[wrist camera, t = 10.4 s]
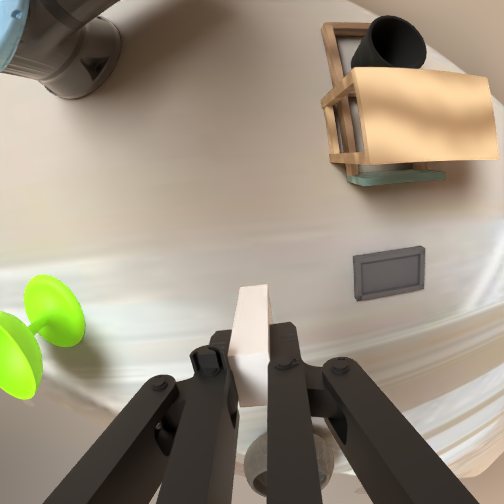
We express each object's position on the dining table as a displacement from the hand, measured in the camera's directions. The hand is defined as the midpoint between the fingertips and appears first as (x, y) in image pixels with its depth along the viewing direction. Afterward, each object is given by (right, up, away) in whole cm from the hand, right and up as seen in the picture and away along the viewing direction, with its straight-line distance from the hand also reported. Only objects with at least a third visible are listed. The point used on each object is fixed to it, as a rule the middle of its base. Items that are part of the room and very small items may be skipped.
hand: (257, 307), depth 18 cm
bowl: (+7, -37, +42) cm, 56 cm away
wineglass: (-40, -9, +35) cm, 54 cm away
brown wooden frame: (+18, +21, +24) cm, 37 cm away
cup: (+17, +31, +21) cm, 41 cm away
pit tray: (+22, 0, +30) cm, 37 cm away
